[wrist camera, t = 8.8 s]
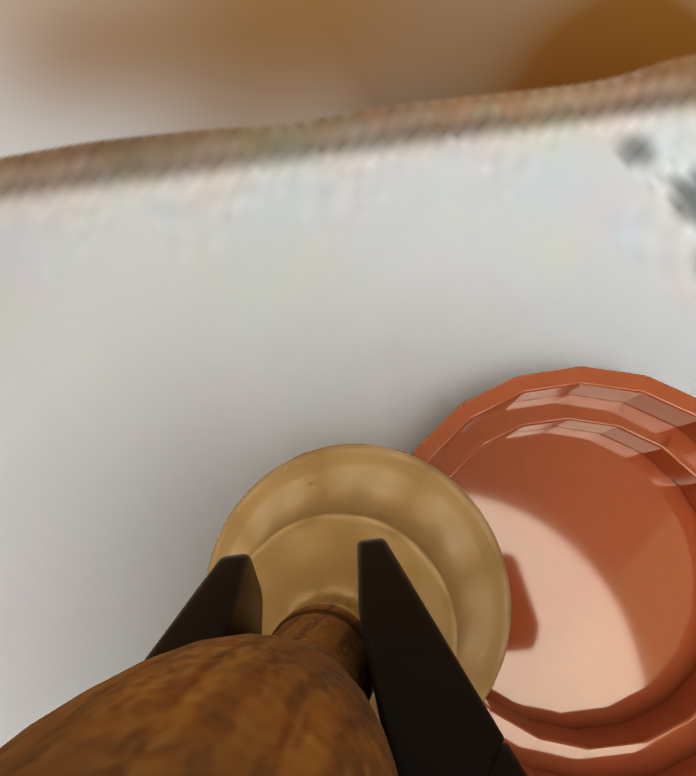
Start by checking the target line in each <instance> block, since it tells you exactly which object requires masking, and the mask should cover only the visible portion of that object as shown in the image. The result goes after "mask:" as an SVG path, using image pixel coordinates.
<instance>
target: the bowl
mask: <svg viewBox="0 0 696 776" xmlns="http://www.w3.org/2000/svg"><path fill="white" fill-rule="evenodd" d="M413 456H415V457H417V458H419V459H421V460H423V461H425V462H426V463H428V464H430V465H432V466H433V467H435V468H437V469H439V470H440V471H441V472H443V473H444V474H445V475H447V476H448V477H449V478H450V479H452V480H453V481H454V482H455V483H456V484H458V485H459V486H460V487H461V488H462V489H463V491H464V492H465V493H466V494H467V495H468V496H469V497H470V498H471V500H472V501H473V502H474V503H475V505H476V506H477V507H478V508H479V509H480V510H481V512H482V514H483V516H484V517H485V519H486V521H487V522H488V524H489V525H490V527H491V529H492V531H493V533H494V535H495V537H496V539H497V541H498V544H499V547H500V550H501V553H502V556H503V559H504V563H505V566H506V569H507V573H508V579H509V585H510V593H511V625H510V635H509V640H508V645H507V649H506V653H505V657H504V660H503V663H502V666H501V669H500V671H499V674H498V676H497V678H496V681H495V683H494V685H493V687H492V689H491V691H490V692H489V694H488V695H487V697H486V699H485V700H484V702H483V703H484V704H485V706H486V708H487V709H488V711H489V713H490V714H491V716H492V718H493V719H494V721H495V723H496V724H497V726H498V728H499V729H500V731H501V733H502V734H503V736H504V743H505V742H506V743H508V744H509V745H510V747H511V749H512V750H513V752H514V754H515V755H516V757H517V759H518V760H519V762H520V764H521V765H522V767H523V769H524V770H525V772H526V774H527V775H528V776H696V398H695V397H692V396H690V395H688V394H686V393H684V392H681V391H679V390H677V389H675V388H673V387H670V386H668V385H666V384H664V383H661V382H659V381H657V380H655V379H653V378H650V377H646V376H645V375H639V374H632V373H625V372H618V371H610V370H603V369H596V368H589V367H573V368H566V369H560V370H553V371H547V372H541V373H534V374H528V375H521V376H518V377H514V378H512V379H510V380H508V381H506V382H504V383H502V384H500V385H498V386H496V387H494V388H492V389H490V390H488V391H486V392H484V393H482V394H480V395H478V396H476V397H474V398H472V399H470V400H468V401H466V402H464V403H462V404H461V405H460V406H458V407H457V408H456V409H455V410H454V411H453V412H452V413H451V414H450V415H449V416H448V417H447V418H446V419H445V420H444V421H443V422H442V423H441V424H440V425H439V426H438V427H437V428H436V429H435V430H434V431H433V432H432V433H431V434H430V435H429V436H428V437H427V438H426V439H425V440H424V441H423V442H422V443H421V444H420V445H419V446H418V447H417V449H416V450H415V451H414V453H413Z"/></svg>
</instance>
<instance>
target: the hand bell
mask: <svg viewBox="0 0 696 776" xmlns="http://www.w3.org/2000/svg"><path fill="white" fill-rule="evenodd" d="M376 538H383V539H384V540H385V541H386V542H387V543H388V545H389V547H390V548H391V550H392V552H393V553H394V555H395V557H396V558H397V560H398V562H399V563H400V565H401V567H402V568H403V570H404V571H405V573H406V575H407V576H408V578H409V580H410V581H411V583H412V585H413V586H414V588H415V590H416V591H417V593H418V595H419V596H420V598H421V600H422V601H423V603H424V605H425V606H426V608H427V610H428V611H429V613H430V615H431V616H432V618H433V620H434V621H435V623H436V625H437V626H438V628H439V630H440V631H441V633H442V635H443V636H444V638H445V640H446V641H447V643H448V645H449V646H450V648H451V650H452V651H453V653H454V655H455V656H456V658H457V660H458V661H459V663H460V665H461V666H462V668H463V670H464V671H465V673H466V675H467V676H468V678H469V680H470V681H471V683H472V685H473V686H474V688H475V690H476V691H477V693H478V695H479V696H480V698H481V699H482V701H483V702H484V700H485V699H486V697H487V695H488V694H489V692H490V691H491V689H492V687H493V685H494V683H495V681H496V678H497V676H498V674H499V671H500V669H501V666H502V663H503V660H504V657H505V653H506V649H507V645H508V640H509V635H510V625H511V593H510V585H509V579H508V573H507V569H506V566H505V563H504V559H503V556H502V553H501V550H500V547H499V544H498V541H497V539H496V537H495V535H494V533H493V531H492V529H491V527H490V525H489V524H488V522H487V521H486V519H485V517H484V516H483V514H482V512H481V510H480V509H479V508H478V507H477V506H476V505H475V503H474V502H473V501H472V500H471V498H470V497H469V496H468V495H467V494H466V493H465V492H464V491H463V489H462V488H461V487H460V486H459V485H458V484H456V483H455V482H454V481H453V480H452V479H450V478H449V477H448V476H447V475H445V474H444V473H443V472H441V471H440V470H439V469H437V468H435V467H433V466H432V465H430V464H428V463H426V462H425V461H423V460H421V459H419V458H417V457H415V456H413V455H410V454H407V453H404V452H401V451H399V450H395V449H391V448H387V447H381V446H375V445H365V444H346V445H336V446H330V447H325V448H321V449H317V450H313V451H310V452H306V453H304V454H301V455H299V456H297V457H295V458H293V459H291V460H289V461H287V462H285V463H283V464H282V465H280V466H278V467H277V468H275V469H274V470H272V471H271V472H270V473H268V474H267V475H266V476H264V477H263V478H262V479H261V480H260V481H258V482H257V483H256V484H255V485H254V486H253V487H252V488H251V489H250V490H249V491H248V492H247V494H246V495H245V496H244V497H243V498H242V499H241V500H240V502H239V503H238V504H237V505H236V507H235V508H234V510H233V511H232V512H231V514H230V515H229V517H228V519H227V521H226V522H225V524H224V526H223V528H222V530H221V532H220V534H219V537H218V539H217V541H216V544H215V547H214V550H213V552H212V556H211V560H210V563H209V567H208V572H207V575H208V574H209V572H210V571H211V570H212V568H213V567H214V566H215V564H216V563H217V562H218V560H219V559H221V558H222V557H224V556H228V555H237V554H247V555H249V556H250V558H251V560H252V562H253V565H254V568H255V572H256V575H257V578H258V581H259V584H260V587H261V591H262V598H263V616H262V634H241V635H233V636H224V637H218V638H212V639H206V640H200V641H196V642H194V643H191V644H188V645H185V646H182V647H180V648H177V649H174V650H171V651H168V652H165V653H163V654H160V655H157V656H154V657H152V658H149V659H147V660H145V661H143V662H140V663H138V664H136V665H135V666H133V667H131V668H129V669H127V670H125V671H123V672H121V673H119V674H117V675H115V676H113V677H111V678H110V679H108V680H106V681H104V682H102V683H100V684H98V685H96V686H94V687H92V688H90V689H88V690H86V691H85V692H83V693H81V694H80V695H78V696H77V697H75V698H73V699H72V700H70V701H68V702H67V703H65V704H64V705H62V706H60V707H59V708H57V709H55V710H54V711H52V712H50V713H49V714H47V715H46V716H44V717H42V718H41V719H39V720H37V721H36V722H34V723H33V724H31V725H29V726H28V727H27V728H26V729H24V730H23V731H22V732H20V733H19V734H18V735H16V736H15V737H14V738H13V739H11V740H10V741H9V742H7V743H6V744H5V745H4V746H2V747H1V748H0V776H398V772H397V768H396V764H395V761H394V758H393V755H392V752H391V749H390V747H389V744H388V741H387V738H386V735H385V732H384V729H383V728H382V726H381V724H380V719H379V714H378V709H377V704H376V699H375V694H374V689H373V685H372V680H371V675H370V670H369V665H368V660H367V655H366V650H365V645H364V640H363V635H362V630H361V625H360V618H359V609H358V571H357V544H358V542H359V541H361V540H367V539H376Z"/></svg>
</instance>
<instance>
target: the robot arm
mask: <svg viewBox="0 0 696 776" xmlns="http://www.w3.org/2000/svg"><path fill="white" fill-rule="evenodd" d="M357 571H358V609H359V618H360V625H361V630H362V635H363V640H364V645H365V650H366V655H367V660H368V665H369V670H370V675H371V680H372V685H373V689H374V694H375V699H376V704H377V709H378V714H379V719H380V724H381V726H382V728H383V729H384V732H385V735H386V738H387V741H388V744H389V747H390V749H391V752H392V755H393V758H394V761H395V764H396V768H397V772H398V776H528V775H527V774H526V772H525V770H524V769H523V767H522V765H521V764H520V762H519V760H518V759H517V757H516V755H515V754H514V752H513V750H512V749H511V747H510V745H509V744H508V743H506V742H505V743H504V736H503V734H502V733H501V731H500V729H499V728H498V726H497V724H496V723H495V721H494V719H493V718H492V716H491V714H490V713H489V711H488V709H487V708H486V706H485V704H484V703H483V701H482V699H481V698H480V696H479V695H478V693H477V691H476V690H475V688H474V686H473V685H472V683H471V681H470V680H469V678H468V676H467V675H466V673H465V671H464V670H463V668H462V666H461V665H460V663H459V661H458V660H457V658H456V656H455V655H454V653H453V651H452V650H451V648H450V646H449V645H448V643H447V641H446V640H445V638H444V636H443V635H442V633H441V631H440V630H439V628H438V626H437V625H436V623H435V621H434V620H433V618H432V616H431V615H430V613H429V611H428V610H427V608H426V606H425V605H424V603H423V601H422V600H421V598H420V596H419V595H418V593H417V591H416V590H415V588H414V586H413V585H412V583H411V581H410V580H409V578H408V576H407V575H406V573H405V571H404V570H403V568H402V567H401V565H400V563H399V562H398V560H397V558H396V557H395V555H394V553H393V552H392V550H391V548H390V547H389V545H388V543H387V542H386V541H385V540H384V539H383V538H376V539H367V540H361V541H359V542H358V544H357ZM262 616H263V598H262V591H261V587H260V584H259V581H258V578H257V575H256V572H255V568H254V565H253V562H252V560H251V558H250V556H249V555H247V554H237V555H228V556H224V557H222V558H221V559H219V560H218V562H217V563H216V564H215V566H214V567H213V568H212V570H211V571H210V572H209V574H208V575H207V577H206V578H205V579H204V581H203V582H202V583H201V585H200V586H199V587H198V589H197V590H196V591H195V593H194V594H193V595H192V597H191V598H190V599H189V601H188V602H187V603H186V605H185V606H184V608H183V609H182V610H181V612H180V613H179V614H178V616H177V617H176V618H175V620H174V621H173V622H172V624H171V625H170V626H169V628H168V629H167V630H166V632H165V633H164V635H163V636H162V637H161V639H160V640H159V641H158V643H157V644H156V645H155V647H154V648H153V649H152V651H151V652H150V653H149V655H148V656H147V657H146V659H145V660H147V659H149V658H152V657H154V656H157V655H160V654H163V653H165V652H168V651H171V650H174V649H177V648H180V647H182V646H185V645H188V644H191V643H194V642H196V641H200V640H206V639H212V638H218V637H224V636H233V635H241V634H262ZM145 660H144V661H145Z"/></svg>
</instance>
